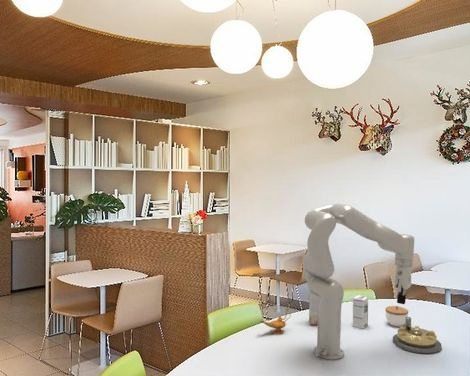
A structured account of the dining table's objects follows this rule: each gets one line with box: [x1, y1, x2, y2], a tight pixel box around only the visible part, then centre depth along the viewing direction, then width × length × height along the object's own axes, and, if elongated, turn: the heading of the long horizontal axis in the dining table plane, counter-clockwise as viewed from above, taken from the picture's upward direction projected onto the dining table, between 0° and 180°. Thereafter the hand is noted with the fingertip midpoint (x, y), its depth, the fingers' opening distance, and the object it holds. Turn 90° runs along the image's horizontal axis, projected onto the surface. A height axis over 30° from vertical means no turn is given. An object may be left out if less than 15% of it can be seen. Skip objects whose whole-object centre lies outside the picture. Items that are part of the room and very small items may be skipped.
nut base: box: [392, 333, 442, 355], centre depth 196 cm, size 20×20×2 cm
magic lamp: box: [259, 306, 292, 335], centre depth 208 cm, size 7×18×11 cm, turn 122°
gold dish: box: [397, 316, 438, 348], centre depth 195 cm, size 16×16×8 cm
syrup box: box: [352, 295, 369, 330], centre depth 217 cm, size 6×6×14 cm
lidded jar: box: [385, 305, 409, 328], centre depth 220 cm, size 11×11×9 cm
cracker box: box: [308, 288, 321, 326], centre depth 219 cm, size 14×6×21 cm, turn 84°
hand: (401, 303), depth 196 cm, fingers closed
